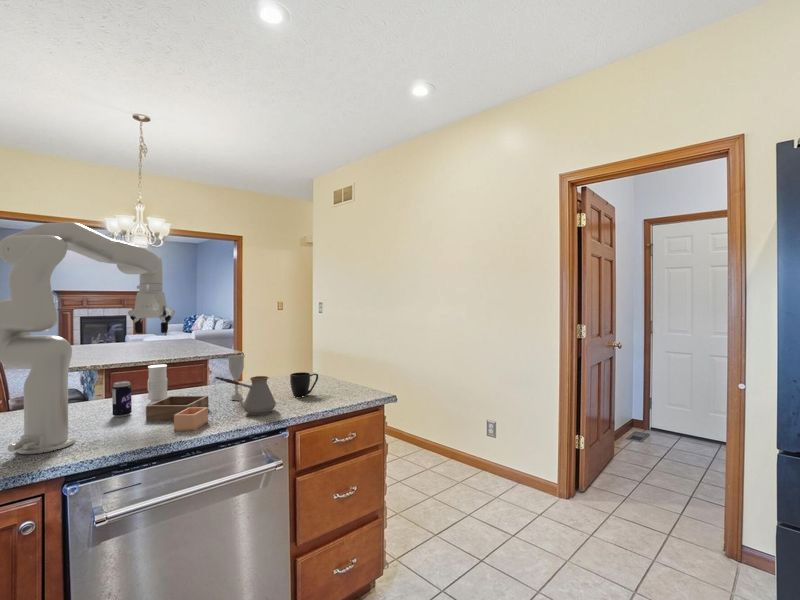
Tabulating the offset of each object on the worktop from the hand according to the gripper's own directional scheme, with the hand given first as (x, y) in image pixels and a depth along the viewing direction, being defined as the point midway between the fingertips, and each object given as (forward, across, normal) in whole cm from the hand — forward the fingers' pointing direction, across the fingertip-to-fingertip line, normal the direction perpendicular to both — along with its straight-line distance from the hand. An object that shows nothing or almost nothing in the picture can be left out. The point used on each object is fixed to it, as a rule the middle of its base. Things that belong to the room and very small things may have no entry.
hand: (151, 332), depth 157 cm
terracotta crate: (+29, +27, -24) cm, 46 cm away
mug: (+29, +55, +18) cm, 65 cm away
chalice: (+29, +28, +12) cm, 42 cm away
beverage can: (+29, -5, -10) cm, 31 cm away
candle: (+29, -2, +8) cm, 30 cm away
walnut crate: (+29, +15, -10) cm, 34 cm away
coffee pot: (+29, +40, -11) cm, 51 cm away
